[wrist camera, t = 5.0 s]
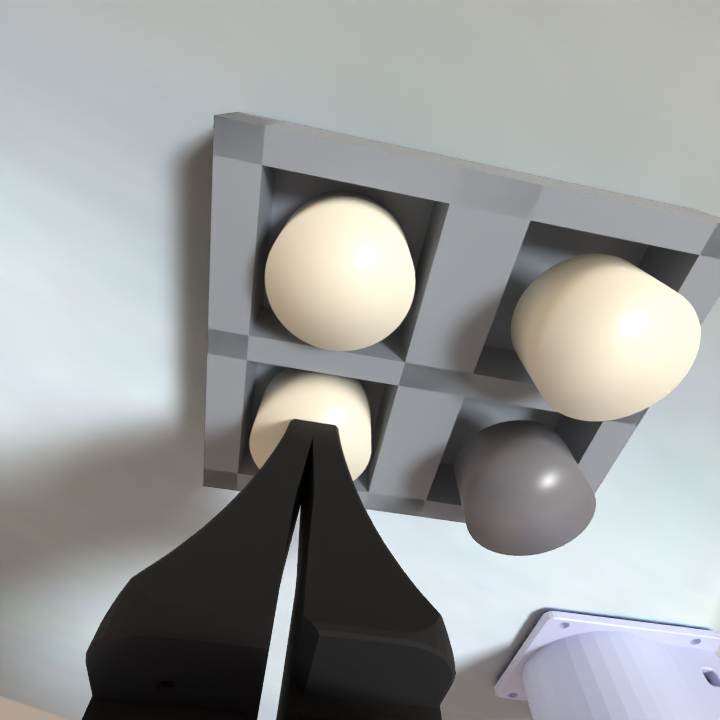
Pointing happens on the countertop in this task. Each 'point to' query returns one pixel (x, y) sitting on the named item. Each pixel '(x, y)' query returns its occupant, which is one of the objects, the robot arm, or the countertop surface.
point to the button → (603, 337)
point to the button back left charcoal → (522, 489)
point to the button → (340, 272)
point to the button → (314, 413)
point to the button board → (420, 299)
